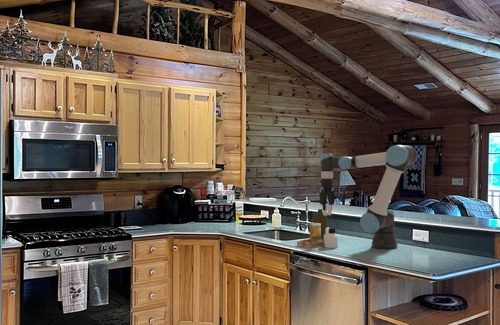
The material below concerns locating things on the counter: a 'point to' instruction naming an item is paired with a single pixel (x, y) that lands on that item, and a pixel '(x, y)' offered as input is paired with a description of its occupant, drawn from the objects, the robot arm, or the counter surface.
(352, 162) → the robot arm
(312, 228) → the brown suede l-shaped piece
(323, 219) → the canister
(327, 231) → the medicine bottle
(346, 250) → the counter surface
